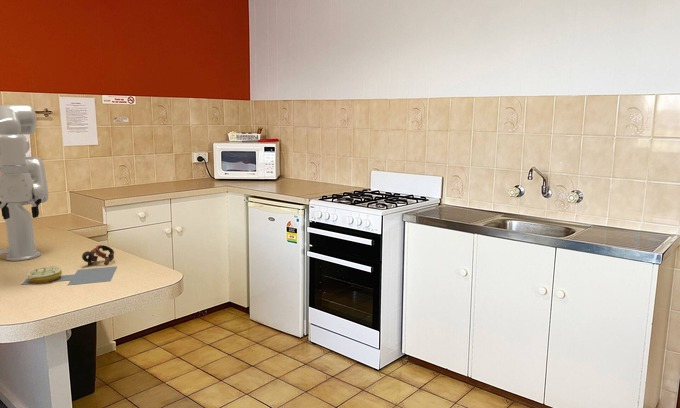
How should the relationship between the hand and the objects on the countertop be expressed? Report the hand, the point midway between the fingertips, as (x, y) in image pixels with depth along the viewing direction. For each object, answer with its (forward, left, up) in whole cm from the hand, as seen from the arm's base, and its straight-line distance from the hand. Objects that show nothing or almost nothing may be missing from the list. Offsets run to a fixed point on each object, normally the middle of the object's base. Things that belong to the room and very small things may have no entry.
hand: (21, 218), depth 189 cm
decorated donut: (+6, -3, -23) cm, 24 cm away
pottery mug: (+21, +13, -23) cm, 34 cm away
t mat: (+14, -3, -23) cm, 27 cm away
